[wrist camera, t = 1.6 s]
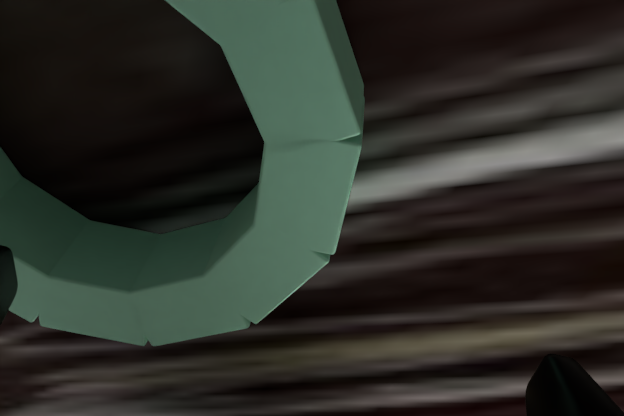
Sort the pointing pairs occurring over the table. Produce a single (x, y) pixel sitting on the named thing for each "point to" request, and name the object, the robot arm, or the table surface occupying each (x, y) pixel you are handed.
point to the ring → (220, 233)
